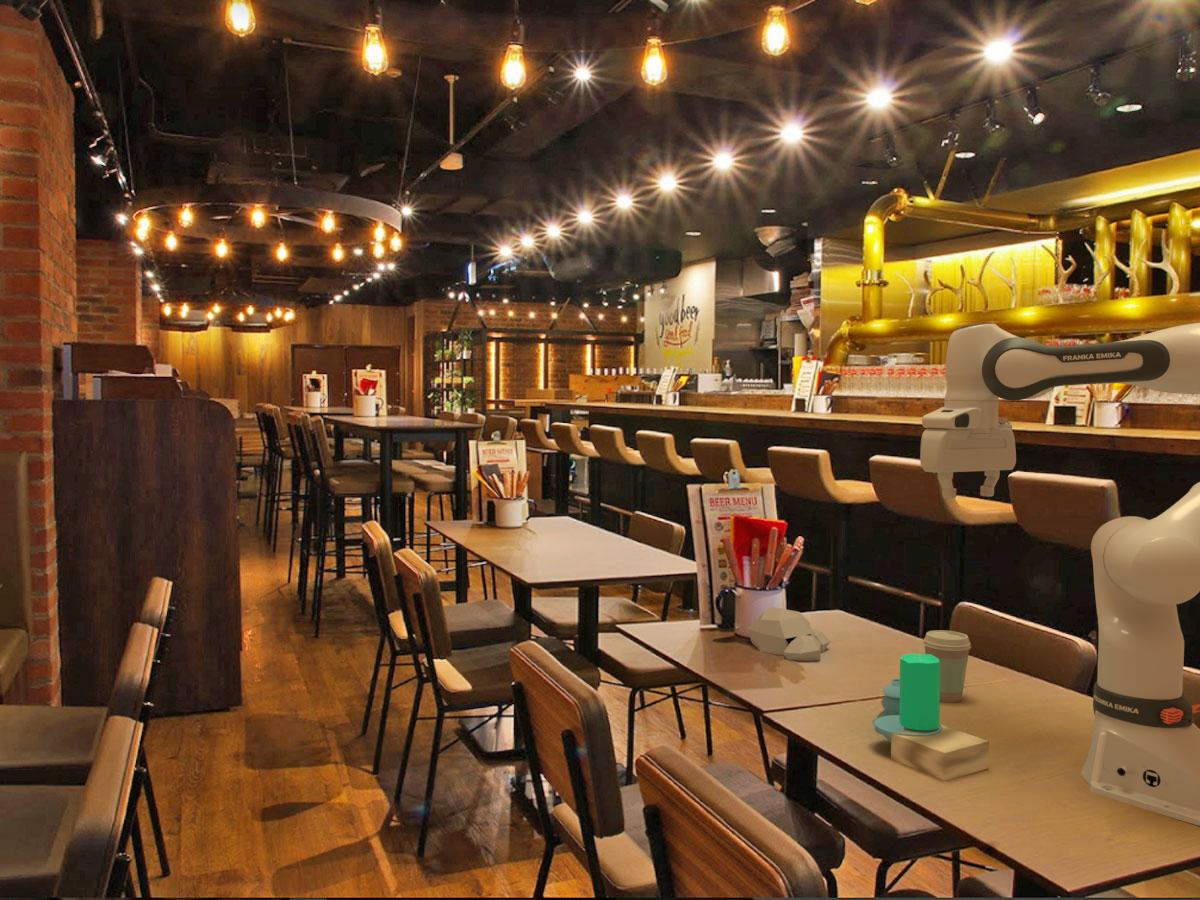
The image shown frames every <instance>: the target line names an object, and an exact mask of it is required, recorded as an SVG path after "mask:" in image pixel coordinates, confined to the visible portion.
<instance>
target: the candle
mask: <svg viewBox="0 0 1200 900" xmlns="http://www.w3.org/2000/svg"><path fill="white" fill-rule="evenodd" d="M918 650H919V652H918V653H907V654H902V656H901V657H900V659H899V679H900V717H899V722H900V724H901V725H902V726H904V727H906V728H910V729H915V730H934V729H937V728H938V727H939V724H941V722H940V720H941V719H940V717H941V716H940V715H941V713H940V712H941V711H940V707H941V706H940V705H941V703H940V702H941V701H940V661H939V659H938V658H936V657H935V656H933V655H931V654H924V653H921V648H919V649H918Z"/></svg>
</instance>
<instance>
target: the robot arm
mask: <svg viewBox="0 0 1200 900" xmlns="http://www.w3.org/2000/svg"><path fill="white" fill-rule="evenodd" d="M944 375H945V376H944V377H945V380H946V387H947V388H946V393H945V395H944V399H943V402H944V403H943V406H942V407H940V408H938V409H935V410H933V411H931V412H929V413H927V414H925V415H923V416H922V420H921V425H922V427H923V428H924V430H923V432H922V434H921V439H920V453H919V454H920V456H919V460H920V461H919V463H920V466H921V468H922V470H923V471H924V472H925V473H926V472H927V473H937V480H938V482H939V484H940V486H941V488H942V493H941V494H942V495H941V497H942V498H943V499H948V500H949V499H950V500H952V499H953V500H954V499H956V498H957V488H955V487H953V484H952V480H953V479H954V473H959V472H960V473H964V472H965V473H968V472H984V476H985V477H986V478H985V479H984V483H983V484H982V485H980V489H979V490H980V491H979V494H980V496H981V497H993V496H994V494H995V486H996V484H997V483H998V480H999V479H1000V476H1001V475H1000V473H1001V472H1000V471H1011V470H1013V469H1014V468H1015V466H1016V464H1017V452H1016V440H1015V434H1014V432H1013V426H1012V424H1011V422H1010V421H1009V420H1008V419H1007V418H1005V417H999V406H1000V405H999V404H1000V403H999V402H1000V399H1002V400H1005V401H1012V402H1014V401H1015V402H1017V401H1021V400H1031V399H1032V400H1034V399H1037V398H1040V397H1042V396H1045V395H1046V394H1048V393H1050V392H1051V391H1053V389H1054V388H1057V387H1064V386H1065V387H1067V386H1068V387H1069V386H1080V385H1097V384H1100V385H1101V384H1120V385H1121V384H1122V385H1129V386H1135V387H1140V388H1144V389H1147V390H1151V391H1156V392H1162V393H1168V394H1170V393H1171V394H1179V395H1180V394H1181V395H1182V394H1183V395H1200V322H1196V323H1195V322H1194V323H1188V324H1182V325H1176V326H1172V327H1167V328H1164V329H1159V330H1156V331H1152V332H1149V333H1146V334H1141V335H1139V336H1135V337H1132V338H1127V339H1124V340H1118V341H1112V342H1101V343H1099V342H1098V343H1087V344H1086V343H1084V344H1069V345H1048V344H1043V343H1041V342H1038V341H1035V340H1033V339H1029V338H1026V337H1019V336H1017V335H1015V334H1012V333H1010V332H1008V331H1006V330H1004V329H1002V328H1001V327H1000V326H998V324H996V323H993V322H979V323H972V324H968V325H967V324H966V325H963V326H961V327H958V328H957V329H955V330H954V331H953V332H952V333H951V335H950V336H949V338H948V343H947V349H946V356H945V371H944ZM925 428H926V429H925ZM951 479H952V480H951ZM1090 552H1091V558H1092V568H1093V586H1094V595H1095V596H1094V597H1095V606H1096V615H1097V625H1098V654H1097V656H1098V657H1097V676H1096V677H1097V679H1096V680H1097V681H1096V682H1095V683H1094V684H1093V696H1092V707H1093V714H1094V720H1093V727H1092V735H1091V740H1090V743H1089V744H1090V745H1089V748H1088V751H1087V752H1088V753H1087V756H1086V760H1085V762H1084V765H1083V767H1082V770H1081V776H1082V777H1083V779H1084V780H1085V782H1087V783H1088V784H1089V791H1090V792H1092V793H1093V794H1096V795H1099V796H1102V797H1105V798H1109V799H1111V800H1115V801H1118V802H1121V803H1123V804H1127V805H1131V806H1135V807H1136V808H1139V809H1142V810H1146V811H1150V812H1151V813H1155V814H1159V815H1163V816H1165V817H1169V818H1173V819H1175V820H1178V821H1182V822H1185V823H1189V824H1192V825H1194V826H1195V825H1196V826H1199V827H1200V728H1199V727H1198V726H1197V725H1196V724H1195V723H1194V722H1195V719H1194V714H1196V713H1200V703H1199V704H1194V705H1191V704H1190V703H1189V701H1188V699H1187V697H1186V695H1185V694H1184V693H1183V686H1184V684H1183V683H1184V682H1183V680H1184V663H1185V662H1184V659H1185V658H1184V657H1185V639H1184V635H1183V631H1182V628H1181V623H1180V619H1179V613H1178V607H1177V605H1180V604H1183V603H1186V602H1187V601H1190V600H1191V599H1193V598H1194V597H1196V595H1198V594H1199V593H1200V481H1199V482H1197V483H1195V484H1194V485H1193V486H1191V488H1190V489H1189V491H1188V492H1187V493H1186V494H1185V495H1184V496H1182V497H1181V498H1180V499H1178V501H1176V502H1175V503H1174V504H1173V505H1171V506H1170V507H1169V508H1168V509H1166V510H1164V512H1162V513H1161V514H1159V515H1158V516H1156V517H1154V518H1151V519H1147V518H1145V517H1143V516H1142V517H1140V516H1135V515H1133V516H1132V515H1131V516H1130V515H1129V516H1120V517H1116V518H1114V519H1111V520H1109V521H1107V522H1106V523H1103V524H1102V525H1101V526H1100V527H1098V529H1097V530H1096V532H1095V533H1094V534H1093V536H1092V539H1091V543H1090Z"/></svg>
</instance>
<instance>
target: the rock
mask: <svg viewBox="0 0 1200 900" xmlns="http://www.w3.org/2000/svg"><path fill="white" fill-rule="evenodd" d="M747 630H748V634H749V638H750V642H751V644H752V645H753V646H755V648H756V649H757V650H759V652H762V653H766V654H767V653H768V654H772V655H777V656H778V655H779V656H783V657H785V658H786V660H788V661H796V662H797V661H798V662H817V661H818V662H820V661H821V654H822V653H824V652H825V650H826V649H827V647H828V646H829V645H830V642H831V640H830V639H829V638H828V637H827V636H826V635H825V634H824V633H823V631H820V630H818V629H815V628H814V629H813V628H812V626H811V623H810V621H809V620H808V619H807V618H806V617H805V616H804V615H803V614H802V613H801V612H800V611H796V610H791V609H786V608H779V607H774V606H772V607H770V608H768V609H766V610H764V611H763V612H762V613H761V614H760V615H759V616H758V617H757V619H756V620H755V621H753V622H752V624H751V625H749V627H748V628H747ZM789 642H790V643H789Z"/></svg>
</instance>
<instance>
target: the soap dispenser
mask: <svg viewBox="0 0 1200 900" xmlns="http://www.w3.org/2000/svg"><path fill="white" fill-rule="evenodd" d="M882 692H883V694H884V696H883V698H882V699H881V706H882V708H883V709H884V710H882V711H881V712H879V713H878V715H877V716H876V718H874V719H873V720H872V724H873V726H874V729H875V731H876V732H877V733H879V734H881V735H883V737H884V738H886V740H887V741H888V742H889V743H890V744H891V735H892V733H894V734H898V735H905V736H929V735H934V734H937V733H939V732H940V731H941V730H942V726H941V725H942V724H941V723H939V727H938V728H937V729H936V730H935V731H933V732H930V733H925V734H906V733H899V731H903V730H907V729H910V728H906V727H904V726H902V725H901V724H900V722H899V717H900V678H892V679H891V684H887V685H885V686H884V687H883V688H882Z"/></svg>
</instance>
